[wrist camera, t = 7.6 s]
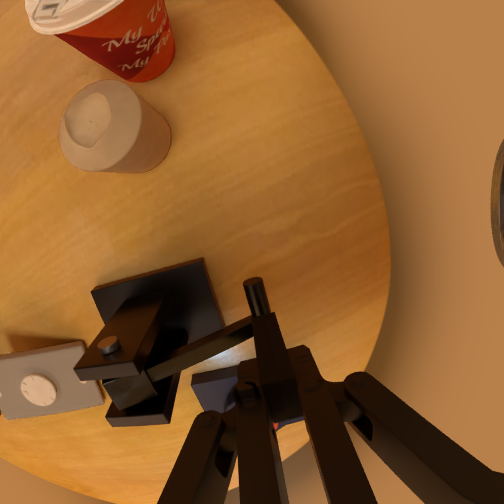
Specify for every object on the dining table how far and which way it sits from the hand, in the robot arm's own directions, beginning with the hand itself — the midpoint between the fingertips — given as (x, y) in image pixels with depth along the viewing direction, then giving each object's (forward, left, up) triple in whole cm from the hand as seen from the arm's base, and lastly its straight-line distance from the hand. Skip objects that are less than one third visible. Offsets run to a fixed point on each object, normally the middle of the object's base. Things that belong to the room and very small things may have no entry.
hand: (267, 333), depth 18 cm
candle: (+6, -15, -8) cm, 18 cm away
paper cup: (+4, -23, -8) cm, 25 cm away
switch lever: (+5, 0, -1) cm, 6 cm away
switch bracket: (+9, 0, -8) cm, 12 cm away
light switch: (+26, +4, -8) cm, 28 cm away
